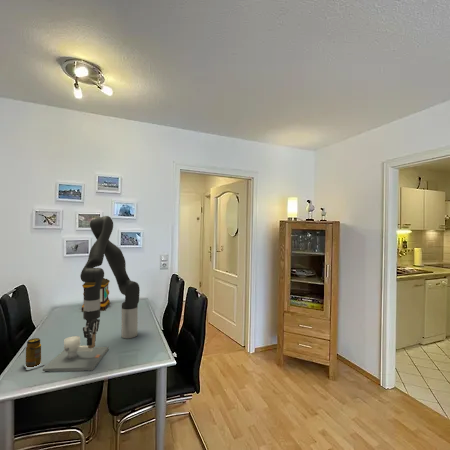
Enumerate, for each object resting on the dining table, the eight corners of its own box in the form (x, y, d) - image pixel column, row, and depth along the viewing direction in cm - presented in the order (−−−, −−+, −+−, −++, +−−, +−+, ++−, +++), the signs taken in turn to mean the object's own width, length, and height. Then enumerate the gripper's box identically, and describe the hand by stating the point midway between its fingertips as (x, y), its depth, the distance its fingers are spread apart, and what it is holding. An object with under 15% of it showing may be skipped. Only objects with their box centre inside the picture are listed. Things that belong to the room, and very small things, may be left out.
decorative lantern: (86, 305, 235) (87, 269, 235) (111, 304, 239) (112, 269, 239) (79, 312, 215) (79, 273, 216) (106, 311, 219) (106, 272, 219)
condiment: (39, 360, 139) (40, 336, 139) (44, 366, 133) (45, 340, 133) (22, 365, 133) (22, 340, 134) (26, 371, 128) (26, 345, 128)
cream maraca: (59, 353, 135) (59, 337, 135) (71, 345, 144) (71, 330, 144) (89, 355, 134) (89, 338, 134) (99, 347, 143) (99, 331, 143)
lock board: (66, 350, 149) (66, 340, 149) (108, 349, 151) (108, 340, 151) (42, 372, 127) (42, 360, 127) (92, 370, 129) (92, 359, 129)
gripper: (90, 304, 146) (90, 338, 145) (77, 312, 132) (76, 349, 131) (105, 304, 146) (104, 338, 145) (93, 312, 132) (92, 349, 131)
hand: (91, 343), depth 138 cm, fingers closed on cream maraca, 3 cm apart
